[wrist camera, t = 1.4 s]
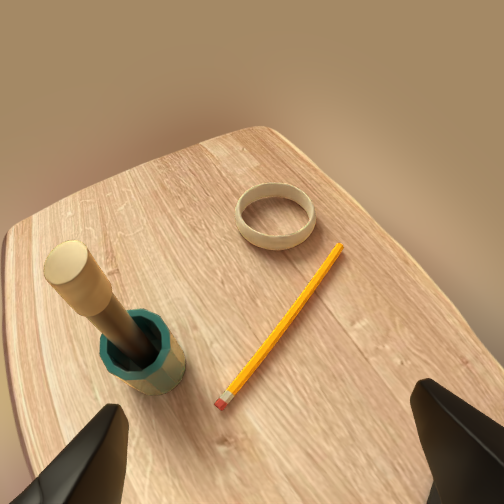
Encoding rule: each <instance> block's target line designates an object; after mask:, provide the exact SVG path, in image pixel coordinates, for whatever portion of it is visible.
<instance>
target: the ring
mask: <svg viewBox="0 0 504 504" xmlns="http://www.w3.org/2000/svg"><path fill="white" fill-rule="evenodd" d="M264 197H283V198H287V199H290V200H292V201H294V202H296V203H298V204H299V205H300V206H302V207H303V208H304V210H305V211H306V212H307V214H308V216H309V222H308V223H307V225H306V226H305V227H303V228H302V229H301V230H299V231H297V232H295V233H292V234H288V235H283V236H273V235H266V234H262V233H260V232H257V231H255V230H253V229H252V228H250V227H249V226H248V225H247V224H246V223H245V222H244V221H243V219H242V217H241V215H242V212H243V211H244V209H245V208H246V207H247V206H248V205H249V204H250V203H252V202H254V201H255V200H258V199H261V198H264ZM235 222H236V225H237V228H238V230H239V231H240V233H241V234H242V236H243V237H244V238H245V239H246V240H248V241H249V242H250V243H252V244H254V245H255V246H258V247H260V248H264V249H268V250H285V249H289V248H292V247H295V246H297V245H299V244H300V243H302V242H303V241H305V240H306V239H307V238H308V237H309V235H310V234H311V232H312V231H313V229H314V226H315V223H316V211H315V207H314V205H313V202H312V201H311V199H310V198H309V197H308V195H307V194H306V193H304V192H303V191H302V190H300V189H299V188H297V187H294V186H292V185H289V184H285V183H278V182H270V183H263V184H260V185H257V186H254V187H252V188H250V189H249V190H247V191H246V192H245V193H244V194H243V195H242V196H241V197H240V199H239V201H238V202H237V205H236V208H235Z"/></svg>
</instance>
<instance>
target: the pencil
mask: <svg viewBox="0 0 504 504" xmlns="http://www.w3.org/2000/svg"><path fill="white" fill-rule="evenodd" d="M343 248H344V247H343V245H342V244H341V243H338V244H336V246H335V247H334V249H333V250H332V251H331V253H330V254H329V256H328V257H327V258H326V260H325V261H324V263H323V264H322V266H321V267H320V268H319V270H318V271H317V273H316V274H315V275H314V277H313V278H312V279H311V281H310V282H309V284H308V285H307V286H306V288H305V289H304V290H303V292H302V293H301V294H300V296H299V297H298V299H297V300H296V301H295V303H294V304H293V305H292V307H291V308H290V309H289V311H288V312H287V313H286V315H285V316H284V317H283V319H282V320H281V321H280V322H279V324H278V325H277V326H276V328H275V329H274V330H273V332H272V333H271V334H270V335H269V337H268V338H267V339H266V341H265V342H264V343H263V344H262V346H261V347H260V348H259V350H258V351H257V352H256V353H255V355H254V356H253V357H252V358H251V360H250V361H249V362H248V363H247V365H246V366H245V367H244V368H243V370H242V371H241V372H240V373H239V374H238V376H237V377H236V378H235V379H234V381H233V382H232V383H231V384H230V385H229V387H228V388H227V389H226V390H225V391H224V393H223V394H222V395H221V396H220V397H219V399H218V400H217V401H216V402H215V403H214V405H215V406H216V407H217V408H219V409H220V410H223V409H224V408H225V407H226V406H227V404H228V403H229V402H230V401H231V400H232V398H233V397H234V396H235V395H236V394H237V392H238V391H239V390H240V389H241V387H242V386H243V385H244V384H245V382H246V381H247V380H248V379H249V377H250V376H251V375H252V374H253V372H254V371H255V370H256V369H257V367H258V366H259V365H260V363H261V362H262V361H263V360H264V358H265V357H266V356H267V354H268V353H269V352H270V351H271V349H272V348H273V347H274V345H275V344H276V343H277V341H278V340H279V339H280V337H281V336H282V335H283V333H284V332H285V331H286V329H287V328H288V327H289V325H290V324H291V323H292V321H293V320H294V319H295V317H296V316H297V314H298V313H299V312H300V310H301V309H302V308H303V306H304V305H305V303H306V302H307V301H308V299H309V298H310V296H311V295H312V294H313V292H314V291H315V289H316V288H317V286H318V285H319V284H320V282H321V281H322V279H323V278H324V276H325V275H326V274H327V272H328V271H329V269H330V268H331V266H332V265H333V263H334V262H335V260H336V259H337V257H338V256H339V254H340V253H341V251H342V250H343Z"/></svg>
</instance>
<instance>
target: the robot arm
mask: <svg viewBox="0 0 504 504" xmlns="http://www.w3.org/2000/svg"><path fill="white" fill-rule="evenodd" d="M410 405H411V408H412V412H413V416H414V419H415V423H416V427H417V431H418V435H419V439H420V442H421V445H422V448H423V451H424V453H425V456H426V459H427V462H428V464H429V467H430V470H431V473H432V476H433V479H434V482H435V485H436V488H437V491H438V494H439V497H440V500H441V503H442V504H504V427H503V426H501V425H500V424H498V423H497V422H495V421H494V420H492V419H491V418H489V417H488V416H486V415H485V414H483V413H482V412H480V411H479V410H477V409H476V408H474V407H473V406H471V405H470V404H468V403H467V402H465V401H464V400H462V399H461V398H459V397H458V396H456V395H455V394H453V393H452V392H450V391H449V390H447V389H446V388H444V387H443V386H441V385H440V384H438V383H437V382H435V381H434V380H432V379H430V378H426V379H422V380H419V381H418V382H417V383H416V385H415V388H414V390H413V392H412V394H411V397H410ZM128 431H129V423H128V420H127V418H126V415H125V413H124V411H123V409H122V407H121V406H120V405H119V404H106V405H105V406H104V407H103V408H102V409H101V410H100V411H99V412H98V413H97V414H96V415H95V416H94V417H93V418H92V419H91V421H90V422H89V423H88V424H87V425H86V426H85V427H84V428H83V429H82V430H81V431H80V432H79V433H78V434H77V435H76V436H75V437H74V438H73V440H72V441H71V442H70V443H69V444H68V445H67V446H66V447H65V448H64V449H63V450H62V451H61V452H60V453H59V454H58V455H57V456H56V458H55V459H54V460H53V461H52V462H51V463H50V464H49V465H48V466H47V467H46V468H45V469H44V470H43V471H42V472H41V473H40V474H39V476H38V477H36V479H35V480H34V481H33V482H32V483H31V484H30V485H29V486H28V487H27V488H26V489H25V490H24V491H23V492H22V493H21V494H20V495H18V496H17V497H16V498H15V499H14V500H13V501H12V502H10V503H9V504H121V498H122V492H123V485H124V479H125V473H126V464H127V446H128Z"/></svg>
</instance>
